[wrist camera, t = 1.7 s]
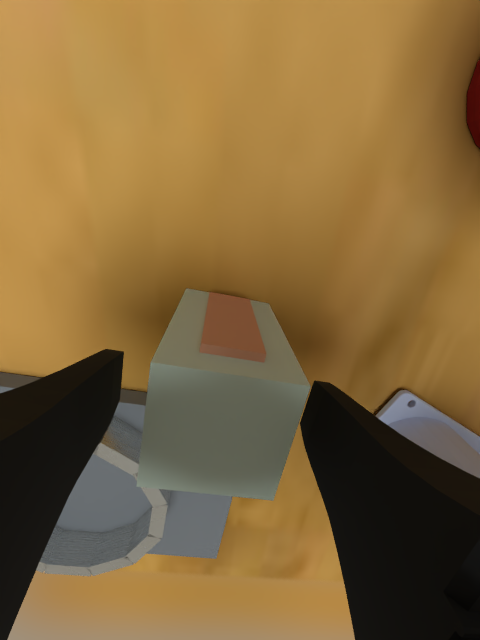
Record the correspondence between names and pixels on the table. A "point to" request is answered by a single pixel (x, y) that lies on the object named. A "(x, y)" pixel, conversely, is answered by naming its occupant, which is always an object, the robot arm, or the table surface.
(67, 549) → the collar
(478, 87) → the plastic cup
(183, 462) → the pale green rectangular block
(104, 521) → the base board
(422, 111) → the table surface
